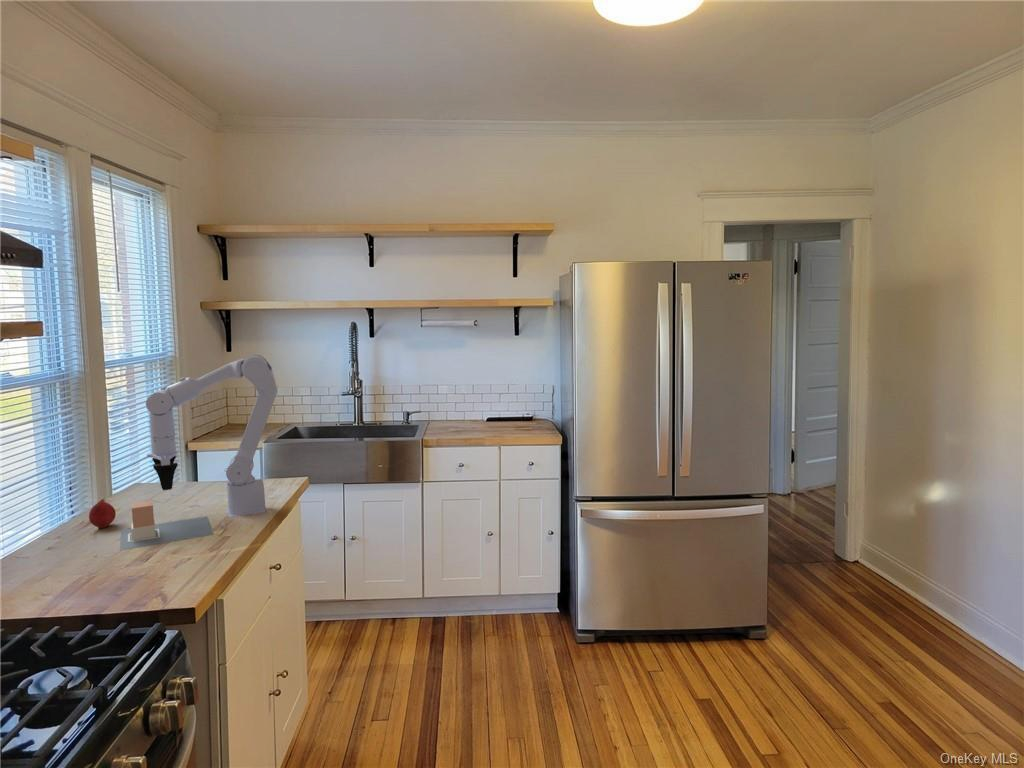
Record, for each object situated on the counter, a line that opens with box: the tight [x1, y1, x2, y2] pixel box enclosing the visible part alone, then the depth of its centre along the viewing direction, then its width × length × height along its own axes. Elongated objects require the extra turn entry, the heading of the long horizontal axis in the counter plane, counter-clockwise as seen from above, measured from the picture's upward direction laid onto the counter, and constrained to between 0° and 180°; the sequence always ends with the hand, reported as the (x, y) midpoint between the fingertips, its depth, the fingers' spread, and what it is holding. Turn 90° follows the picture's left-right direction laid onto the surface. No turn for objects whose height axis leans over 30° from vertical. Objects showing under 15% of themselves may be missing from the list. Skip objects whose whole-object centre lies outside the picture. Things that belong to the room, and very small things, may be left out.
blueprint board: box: [119, 516, 214, 551], centre depth 162 cm, size 20×16×4 cm
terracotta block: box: [131, 500, 155, 528], centre depth 159 cm, size 4×4×5 cm
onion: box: [88, 498, 116, 529], centre depth 166 cm, size 6×6×8 cm
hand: (166, 486), depth 171 cm, fingers open, 7 cm apart
